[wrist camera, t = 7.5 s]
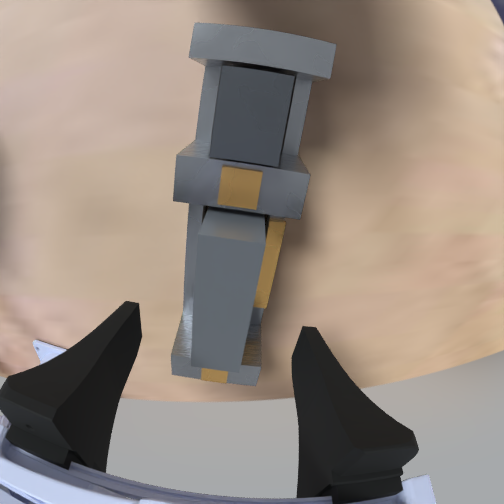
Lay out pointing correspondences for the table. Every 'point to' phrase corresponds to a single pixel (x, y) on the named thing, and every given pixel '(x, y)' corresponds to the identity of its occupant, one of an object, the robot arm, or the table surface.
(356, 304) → the table surface
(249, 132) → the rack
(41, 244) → the table surface
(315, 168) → the table surface
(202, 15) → the table surface
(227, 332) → the panel
